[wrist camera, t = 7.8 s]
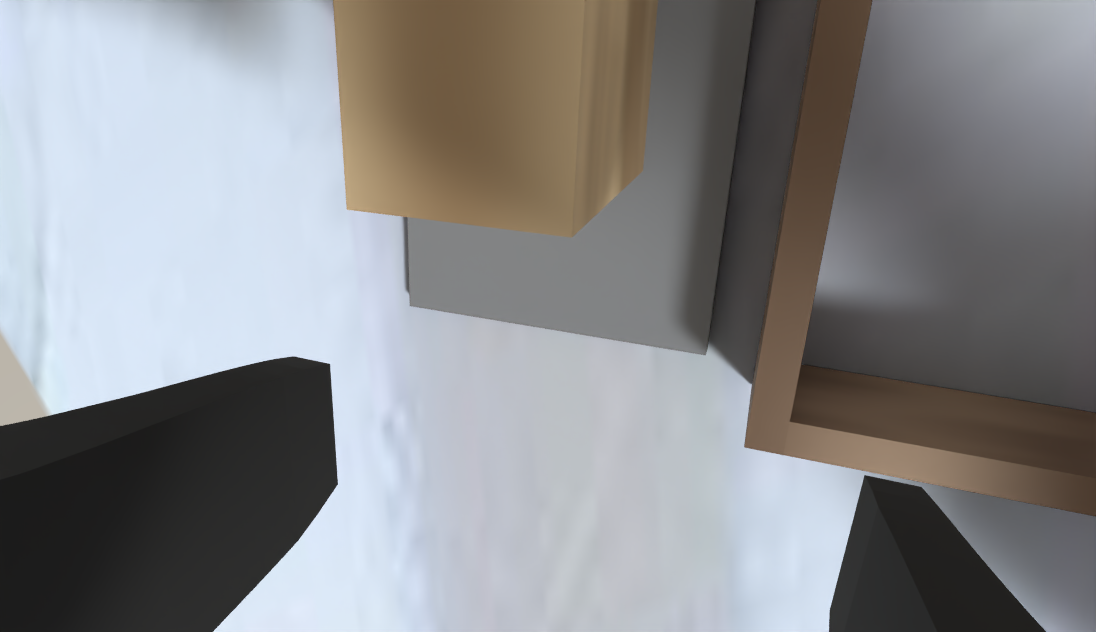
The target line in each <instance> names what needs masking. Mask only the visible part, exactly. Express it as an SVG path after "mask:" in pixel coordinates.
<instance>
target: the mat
mask: <svg viewBox="0 0 1096 632" xmlns="http://www.w3.org/2000/svg"><path fill="white" fill-rule="evenodd" d="M755 7H756V0H658V6H657V17H656V29H655V40H654V51H653V63H652V74H651V85H650V97H649V108H648V119H647V131H646V142H645V153H644V165H643V171H642V172H641V173H640V174H639V175H638V176H637V177H636V178H635V179H634V180H633V181H632V182H631V183H630V184H628V185H627V186H626V187H625V188H624V189H623V190H622V191H621V192H620V193H619V194H618V195H617V196H616V197H615V198H614V199H612V200H611V201H610V202H609V203H608V204H607V205H606V206H605V207H604V208H603V209H602V210H601V211H600V212H599V213H598V214H597V215H595V216H594V217H593V218H592V219H591V220H590V221H589V222H588V223H587V224H586V225H585V226H584V227H583V228H582V229H581V230H579V231H578V232H577V233H576V234H575V235H574V236H573V237H572V238H571V237H563V236H555V235H547V234H539V233H531V232H523V231H515V230H507V229H499V228H491V227H483V226H475V225H467V224H459V223H451V222H443V221H435V220H427V219H419V218H411V217H407V223H408V259H409V295H410V306H413V307H419V308H425V309H431V310H437V311H443V312H449V313H455V314H461V315H467V316H473V317H479V318H485V319H491V320H497V321H503V322H509V323H515V324H521V325H527V326H533V327H539V328H545V329H551V330H557V331H563V332H569V333H575V334H581V335H587V336H593V337H599V338H605V339H611V340H617V341H623V342H629V343H635V344H641V345H647V346H653V347H659V348H665V349H671V350H677V351H683V352H689V353H695V354H701V355H706V352H707V348H708V341H709V333H710V326H711V319H712V312H713V305H714V298H715V291H716V284H717V277H718V270H719V263H720V255H721V248H722V241H723V234H724V227H725V220H726V213H727V206H728V199H729V192H730V185H731V177H732V170H733V163H734V156H735V149H736V142H737V135H738V128H739V121H740V114H741V106H742V99H743V92H744V85H745V78H746V71H747V64H748V57H749V50H750V43H751V36H752V28H753V21H754V14H755Z"/></svg>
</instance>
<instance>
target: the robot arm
mask: <svg viewBox="0 0 1096 632" xmlns="http://www.w3.org/2000/svg"><path fill="white" fill-rule="evenodd" d="M337 485H338V480H337V465H336V450H335V434H334V419H333V404H332V389H331V373H330V364H327V363H323V362H318V361H313V360H308V359H303V358H298V357H287V358H279V359H273V360H268V361H263V362H259V363H254V364H250V365H246V366H242V367H238V368H234V369H230V370H226V371H222V372H218V373H214V374H211V375H207V376H203V377H199V378H196V379H192V380H188V381H184V382H181V383H177V384H173V385H170V386H166V387H162V388H158V389H155V390H151V391H147V392H144V393H140V394H136V395H132V396H128V397H124V398H120V399H116V400H112V401H108V402H104V403H100V404H96V405H91V406H87V407H83V408H79V409H75V410H71V411H67V412H63V413H59V414H55V415H51V416H46V417H42V418H37V419H33V420H29V421H23V422H19V423H14V424H9V425H4V426H0V632H213V631H214V630H215V629H216V628H217V627H218V626H219V625H220V624H221V623H222V621H223V620H224V619H225V618H226V617H227V616H228V615H229V614H230V613H231V612H232V611H233V610H234V609H235V608H236V607H237V606H238V605H239V604H240V603H241V601H242V600H243V599H244V598H245V597H246V596H247V595H248V594H249V593H250V592H251V591H252V590H253V589H254V588H255V587H256V586H257V585H258V584H259V582H260V581H261V580H262V579H263V578H264V577H265V576H266V575H267V574H268V573H269V572H270V571H271V570H272V568H273V567H274V566H275V565H276V564H277V563H278V562H279V561H280V560H281V559H282V558H283V557H284V556H285V554H286V553H287V552H288V551H289V550H290V549H291V548H292V547H293V546H294V544H295V543H296V542H297V541H298V540H299V539H300V537H301V536H302V535H303V533H304V532H305V530H306V529H307V528H308V526H309V525H310V524H311V522H312V521H313V520H314V518H315V517H316V516H317V514H318V513H319V511H320V510H321V508H322V507H323V505H324V504H325V502H326V501H327V499H328V498H329V496H330V495H331V493H332V492H333V491H334V489H335V488H336V486H337ZM829 632H1046V631H1045V630H1044V629H1043V628H1042V627H1041V626H1040V625H1039V624H1038V623H1037V621H1036V620H1035V619H1034V618H1033V617H1032V616H1031V615H1030V614H1029V613H1028V611H1027V610H1026V609H1025V608H1024V607H1023V606H1022V605H1021V604H1020V603H1019V601H1018V600H1017V599H1016V598H1015V597H1014V596H1013V595H1012V593H1011V592H1010V591H1009V590H1008V589H1007V588H1006V587H1005V585H1004V584H1003V583H1002V582H1001V581H1000V580H999V579H998V577H997V576H996V575H995V574H994V573H993V571H992V570H991V569H990V568H989V567H988V566H987V564H986V563H985V562H984V561H983V560H982V559H981V557H980V556H979V555H978V554H977V553H976V551H975V550H974V549H973V548H972V547H971V545H970V544H969V543H968V542H967V541H966V539H965V538H964V537H963V536H962V535H961V533H960V532H959V531H958V530H957V529H956V527H955V526H954V525H953V524H952V523H951V521H950V520H949V519H948V518H947V516H946V515H945V514H944V513H943V512H942V510H941V509H940V508H939V507H938V506H937V504H936V503H935V502H934V501H933V500H932V499H931V497H930V496H929V495H928V494H927V493H926V492H925V491H924V490H923V488H922V487H919V486H914V485H909V484H904V483H899V482H894V481H890V480H885V479H880V478H875V477H870V476H866V475H865V476H864V480H863V484H862V488H861V492H860V495H859V499H858V503H857V507H856V511H855V515H854V519H853V523H852V526H851V530H850V534H849V538H848V542H847V546H846V550H845V554H844V557H843V561H842V565H841V569H840V573H839V577H838V581H837V585H836V588H835V592H834V596H833V600H832V604H831V608H830V620H829Z"/></svg>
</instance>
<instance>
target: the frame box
mask: <svg viewBox="0 0 1096 632" xmlns="http://www.w3.org/2000/svg"><path fill="white" fill-rule="evenodd" d="M871 5H872V0H817V6H816V12H815V17H814V23H813V29H812V35H811V41H810V47H809V53H808V59H807V65H806V70H805V76H804V82H803V88H802V94H801V100H800V106H799V112H798V117H797V123H796V129H795V135H794V141H793V147H792V153H791V159H790V165H789V170H788V176H787V182H786V188H785V194H784V200H783V206H782V212H781V217H780V223H779V229H778V235H777V241H776V247H775V253H774V259H773V265H772V270H771V276H770V282H769V288H768V294H767V300H766V306H765V312H764V317H763V323H762V329H761V335H760V341H759V347H758V353H757V359H756V365H755V370H754V376H753V382H752V389H751V397H750V405H749V413H748V421H747V429H746V437H745V445H744V447H745V448H751V449H756V450H761V451H766V452H771V453H776V454H781V455H786V456H791V457H796V458H801V459H806V460H812V461H817V462H822V463H827V464H832V465H837V466H842V467H847V468H852V469H857V470H862V471H867V472H873V473H878V474H883V475H888V476H893V477H898V478H903V479H908V480H913V481H918V482H923V483H929V484H934V485H939V486H944V487H949V488H954V489H959V490H964V491H969V492H974V493H979V494H984V495H990V496H995V497H1000V498H1005V499H1010V500H1015V501H1020V502H1025V503H1030V504H1035V505H1040V506H1045V507H1051V508H1056V509H1061V510H1066V511H1071V512H1076V513H1081V514H1086V515H1091V516H1096V413H1094V412H1088V411H1082V410H1076V409H1070V408H1064V407H1058V406H1051V405H1045V404H1039V403H1033V402H1027V401H1021V400H1015V399H1009V398H1003V397H997V396H991V395H985V394H978V393H972V392H966V391H960V390H954V389H948V388H942V387H936V386H930V385H924V384H918V383H912V382H906V381H899V380H893V379H887V378H881V377H875V376H869V375H863V374H857V373H851V372H845V371H839V370H833V369H826V368H820V367H814V366H808V365H802V364H801V362H802V357H803V352H804V347H805V341H806V336H807V331H808V326H809V321H810V316H811V311H812V306H813V301H814V296H815V291H816V285H817V280H818V275H819V270H820V265H821V260H822V255H823V250H824V245H825V240H826V234H827V229H828V224H829V219H830V214H831V209H832V204H833V199H834V194H835V189H836V183H837V178H838V173H839V168H840V163H841V158H842V153H843V148H844V143H845V138H846V132H847V127H848V122H849V117H850V112H851V107H852V102H853V97H854V92H855V87H856V81H857V76H858V71H859V66H860V61H861V56H862V51H863V46H864V41H865V36H866V31H867V25H868V20H869V15H870V10H871Z"/></svg>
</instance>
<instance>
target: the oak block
mask: <svg viewBox="0 0 1096 632" xmlns="http://www.w3.org/2000/svg"><path fill="white" fill-rule="evenodd" d="M333 6H334V21H335V36H336V52H337V67H338V82H339V97H340V113H341V128H342V143H343V158H344V174H345V189H346V204H347V210H355V211H363V212H371V213H379V214H387V215H395V216H403V217H411V218H419V219H427V220H435V221H443V222H451V223H459V224H467V225H475V226H483V227H491V228H499V229H507V230H515V231H523V232H531V233H539V234H547V235H555V236H563V237H571V238H572V237H573V236H574V235H575V234H576V233H577V232H578V231H579V230H581V229H582V228H583V227H584V226H585V225H586V224H587V223H588V222H589V221H590V220H591V219H592V218H593V217H594V216H595V215H597V214H598V213H599V212H600V211H601V210H602V209H603V208H604V207H605V206H606V205H607V204H608V203H609V202H610V201H611V200H612V199H614V198H615V197H616V196H617V195H618V194H619V193H620V192H621V191H622V190H623V189H624V188H625V187H626V186H627V185H628V184H630V183H631V182H632V181H633V180H634V179H635V178H636V177H637V176H638V175H639V174H640V173H641V172H642V171H643V165H644V153H645V142H646V131H647V119H648V108H649V97H650V85H651V74H652V63H653V51H654V40H655V29H656V17H657V6H658V0H333Z"/></svg>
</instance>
